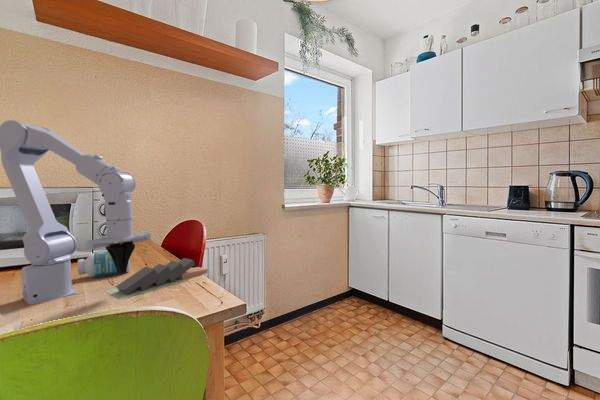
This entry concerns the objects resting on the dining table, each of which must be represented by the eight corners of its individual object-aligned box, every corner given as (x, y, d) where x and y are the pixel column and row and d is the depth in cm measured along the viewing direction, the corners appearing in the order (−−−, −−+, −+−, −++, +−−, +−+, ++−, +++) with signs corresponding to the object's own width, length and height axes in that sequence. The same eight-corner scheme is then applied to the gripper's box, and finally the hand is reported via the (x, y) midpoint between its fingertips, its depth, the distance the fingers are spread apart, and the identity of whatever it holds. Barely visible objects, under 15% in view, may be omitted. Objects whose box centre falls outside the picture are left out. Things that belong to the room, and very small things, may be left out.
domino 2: (140, 286, 77) (168, 266, 83) (131, 282, 80) (159, 263, 86) (142, 290, 78) (170, 270, 84) (134, 287, 81) (161, 268, 87)
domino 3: (155, 281, 81) (181, 262, 87) (146, 278, 84) (171, 260, 90) (158, 286, 81) (183, 267, 87) (149, 283, 84) (174, 264, 90)
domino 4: (169, 278, 84) (193, 260, 90) (160, 275, 87) (183, 257, 93) (171, 282, 84) (195, 264, 91) (162, 279, 87) (185, 262, 93)
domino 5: (182, 274, 87) (207, 269, 94) (173, 271, 90) (198, 266, 97) (182, 279, 87) (207, 274, 94) (173, 276, 90) (198, 271, 97)
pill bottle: (130, 271, 94) (77, 279, 87) (130, 272, 100) (80, 280, 93) (128, 247, 95) (76, 253, 89) (128, 250, 102) (80, 256, 95)
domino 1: (124, 290, 74) (154, 269, 80) (115, 286, 77) (145, 266, 83) (127, 295, 75) (157, 273, 81) (118, 291, 78) (148, 271, 84)
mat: (121, 300, 72) (120, 299, 72) (104, 292, 78) (104, 291, 78) (187, 281, 87) (187, 279, 87) (169, 275, 93) (169, 274, 93)
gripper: (92, 223, 67) (95, 282, 68) (155, 217, 79) (157, 268, 80) (81, 221, 72) (83, 277, 72) (142, 216, 83) (144, 264, 84)
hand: (121, 272), depth 76 cm, fingers closed
